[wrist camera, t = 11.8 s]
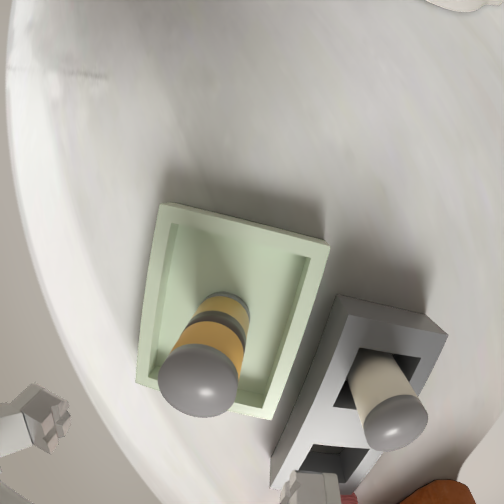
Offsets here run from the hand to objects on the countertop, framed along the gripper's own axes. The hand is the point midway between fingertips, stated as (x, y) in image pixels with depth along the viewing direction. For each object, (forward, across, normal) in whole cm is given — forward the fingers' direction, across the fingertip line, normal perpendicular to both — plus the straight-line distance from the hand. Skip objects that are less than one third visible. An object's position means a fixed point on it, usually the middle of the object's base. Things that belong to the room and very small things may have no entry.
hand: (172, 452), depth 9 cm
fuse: (+14, -11, +2) cm, 19 cm away
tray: (+14, 0, +1) cm, 14 cm away
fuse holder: (+14, -11, +7) cm, 19 cm away
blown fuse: (+14, 0, +1) cm, 14 cm away
